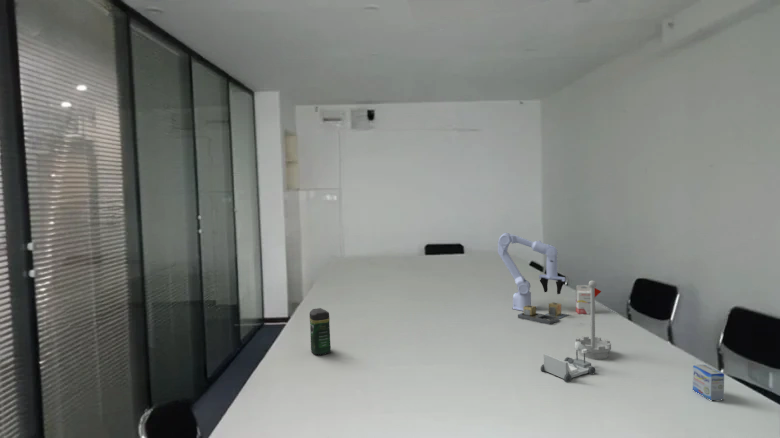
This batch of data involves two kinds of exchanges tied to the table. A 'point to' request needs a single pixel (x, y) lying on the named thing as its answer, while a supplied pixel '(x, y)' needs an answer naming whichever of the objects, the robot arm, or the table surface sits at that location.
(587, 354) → the flag stand
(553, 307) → the gold knob block
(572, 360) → the toy car
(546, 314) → the slate mat
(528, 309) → the gold drawer
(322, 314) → the coffee jar
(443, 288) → the table surface
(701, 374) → the medicine box
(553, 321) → the grey flat rectangular frame
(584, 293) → the ink cartridge box
